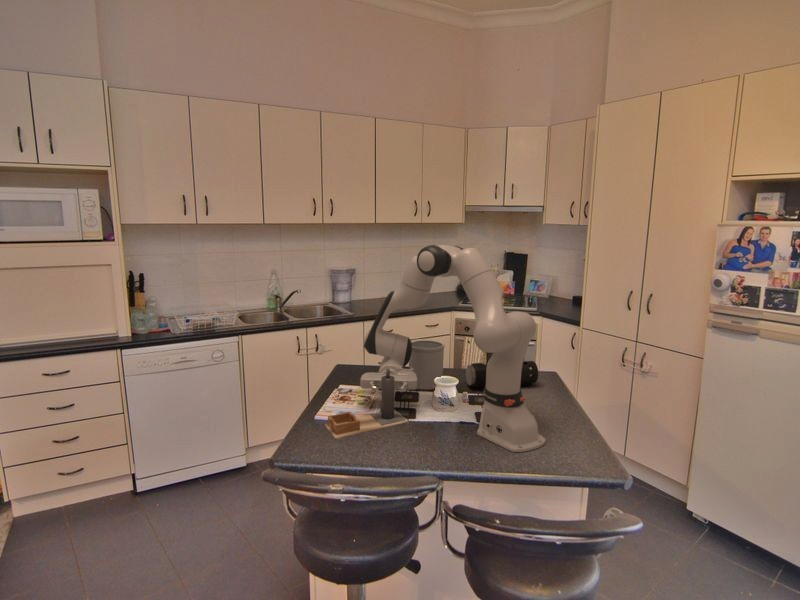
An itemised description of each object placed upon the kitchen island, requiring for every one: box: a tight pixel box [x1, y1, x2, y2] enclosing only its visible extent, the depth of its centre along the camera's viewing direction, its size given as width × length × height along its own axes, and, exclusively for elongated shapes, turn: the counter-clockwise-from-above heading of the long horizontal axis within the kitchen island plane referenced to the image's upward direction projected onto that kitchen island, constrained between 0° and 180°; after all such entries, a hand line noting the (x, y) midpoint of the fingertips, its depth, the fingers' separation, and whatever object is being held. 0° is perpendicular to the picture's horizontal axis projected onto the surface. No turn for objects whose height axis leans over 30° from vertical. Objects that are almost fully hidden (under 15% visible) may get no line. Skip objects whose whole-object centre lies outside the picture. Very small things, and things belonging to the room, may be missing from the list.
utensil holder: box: [408, 338, 445, 391], centre depth 194 cm, size 15×15×18 cm
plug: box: [380, 369, 395, 419], centre depth 159 cm, size 4×4×17 cm
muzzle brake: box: [465, 360, 539, 389], centre depth 192 cm, size 10×28×10 cm, turn 100°
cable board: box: [323, 408, 410, 439], centre depth 156 cm, size 11×26×4 cm, turn 118°
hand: (387, 389), depth 160 cm, fingers open, 8 cm apart
